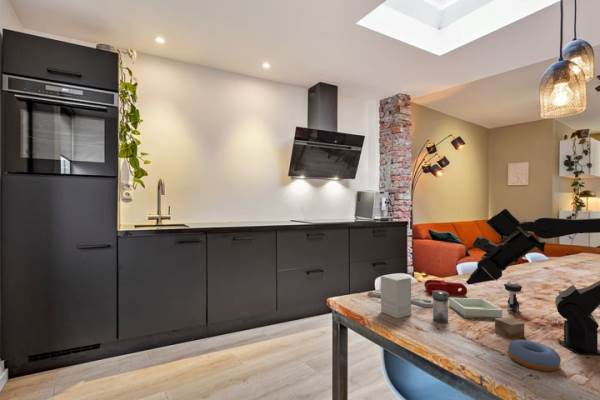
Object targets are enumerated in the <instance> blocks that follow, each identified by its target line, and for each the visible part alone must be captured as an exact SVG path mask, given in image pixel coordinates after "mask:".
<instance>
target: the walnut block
mask: <svg viewBox="0 0 600 400" xmlns="http://www.w3.org/2000/svg"><path fill="white" fill-rule="evenodd" d="M494 332H495V333H497V334H499V335H502V336H504V337H506V338H508V339H511V340H513V339H514V340H515V339H518V338H525V322H522V321H520V320H517V319H514V318H512V317H509V316H505V317H503V316H502V318H495V319H494Z"/></svg>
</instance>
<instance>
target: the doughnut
mask: <svg viewBox="0 0 600 400" xmlns="http://www.w3.org/2000/svg"><path fill="white" fill-rule="evenodd" d="M507 353H508V354H509V356H510V358H511V359H513V361H514V362H515V363H518V364H519V365H520V366H523V367H526V368H528V369H531V370H536V371H540V372H554V371H556V370H558V369H560V367H561V356H560V354H558V352H557V351H556V350H555V349H554V348H552V347H550V346H548V345H546V344H544V343H540V342H537V341H532V340H528V339H516V340H515V339H514V340H512V341H510V343H509V344H508V348H507Z"/></svg>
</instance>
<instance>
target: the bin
mask: <svg viewBox="0 0 600 400" xmlns="http://www.w3.org/2000/svg"><path fill="white" fill-rule="evenodd" d="M448 307H450V308H452V309H453V311H456V313H458V314H459V315H460V316H462V317H463V318H465V319H484V318H487V320H489V319H491V320H492V319H494V320H495V318H503V309H502V308H499V307H498V306H497V305H495V304H492V302H489V301H488V300H486V299H484V298H476V297H475V298H469V297H466V298H465V297H449V300H448Z"/></svg>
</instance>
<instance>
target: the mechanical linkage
mask: <svg viewBox="0 0 600 400" xmlns="http://www.w3.org/2000/svg"><path fill="white" fill-rule="evenodd" d="M424 289H425V291H426V292H427V294H428V295H430V296H432V291H435V290H439V291H445V292H448V293H449V296H456V297H457V296H458V297H465V296H466V295H467V293H468V289H467V287H466V286H465V284H463V283H461V282H452V281H451V282H450V281H445V280H442V279H441V280H440V279H427V280H426V281H425V282H424ZM459 289H461V290H459Z"/></svg>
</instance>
